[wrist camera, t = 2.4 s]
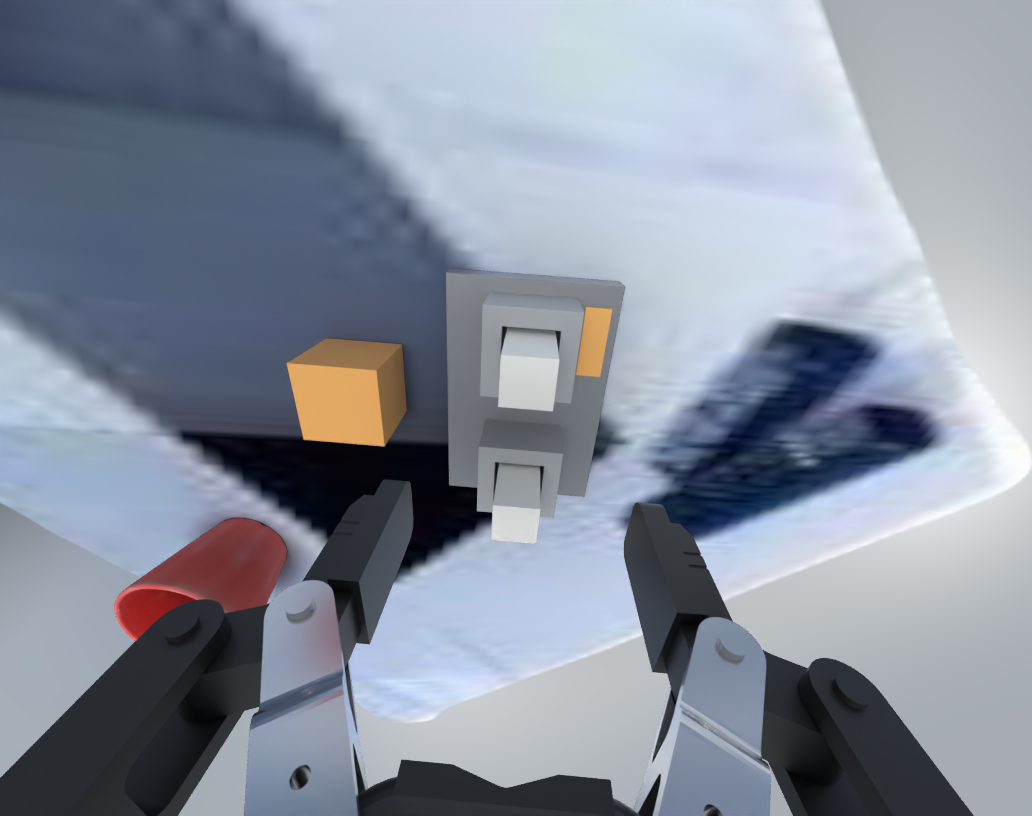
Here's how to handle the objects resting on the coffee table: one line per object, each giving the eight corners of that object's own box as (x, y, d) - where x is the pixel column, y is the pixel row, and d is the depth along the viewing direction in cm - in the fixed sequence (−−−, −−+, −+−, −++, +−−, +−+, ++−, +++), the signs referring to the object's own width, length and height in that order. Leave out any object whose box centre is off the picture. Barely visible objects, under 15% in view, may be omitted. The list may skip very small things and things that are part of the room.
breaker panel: (451, 268, 28) (431, 283, 22) (619, 281, 27) (639, 299, 22) (453, 471, 36) (439, 517, 31) (582, 482, 36) (590, 530, 30)
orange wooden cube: (326, 338, 31) (286, 363, 26) (402, 344, 30) (376, 370, 26) (337, 405, 33) (303, 439, 28) (406, 411, 33) (384, 446, 28)
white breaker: (507, 325, 25) (500, 354, 20) (555, 329, 25) (559, 359, 20) (505, 369, 26) (498, 406, 21) (549, 372, 26) (552, 411, 21)
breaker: (500, 455, 29) (492, 505, 24) (539, 458, 29) (540, 509, 24) (498, 486, 31) (491, 539, 26) (536, 490, 31) (535, 543, 26)
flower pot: (270, 497, 39) (194, 581, 30) (319, 572, 43) (265, 663, 35) (180, 511, 40) (83, 594, 32) (236, 582, 45) (165, 671, 36)
